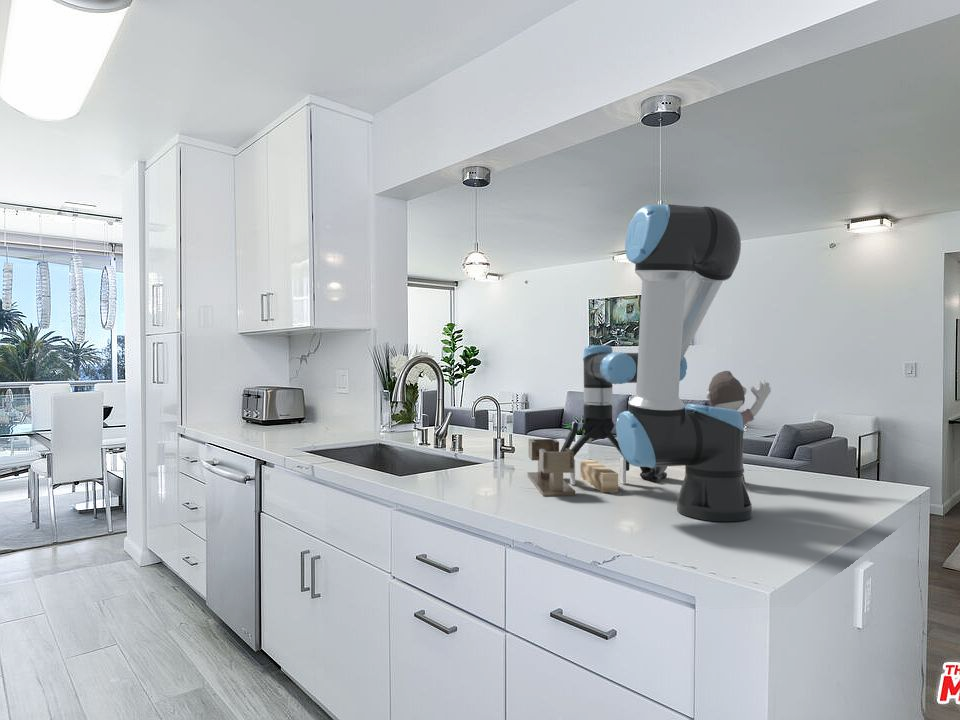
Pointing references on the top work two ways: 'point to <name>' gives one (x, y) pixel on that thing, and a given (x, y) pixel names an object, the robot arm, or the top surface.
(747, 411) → the figurine
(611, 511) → the top surface
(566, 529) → the top surface
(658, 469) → the figurine
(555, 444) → the bracket
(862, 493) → the top surface
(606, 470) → the rail
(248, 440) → the top surface
